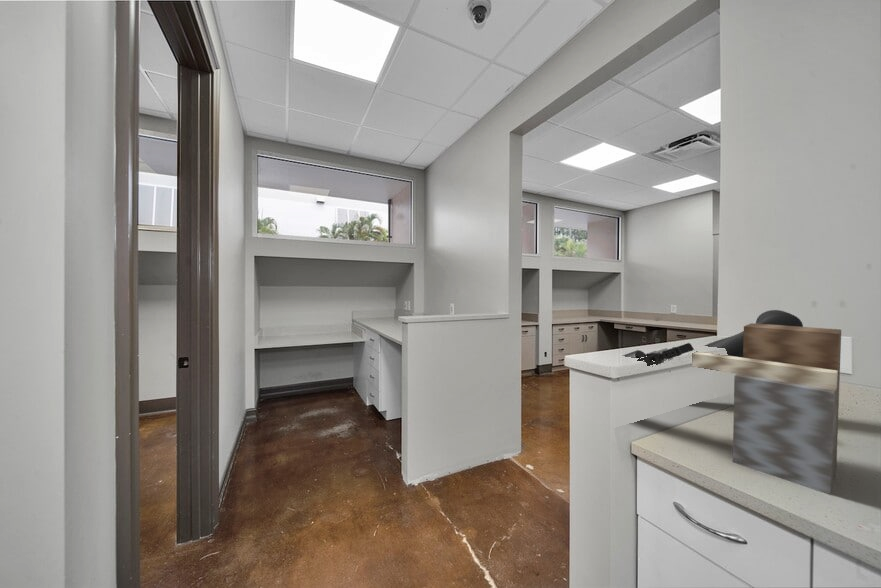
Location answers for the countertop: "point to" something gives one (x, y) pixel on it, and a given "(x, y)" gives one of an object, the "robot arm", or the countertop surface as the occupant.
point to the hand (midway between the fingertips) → (686, 348)
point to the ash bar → (767, 370)
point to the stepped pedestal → (788, 407)
